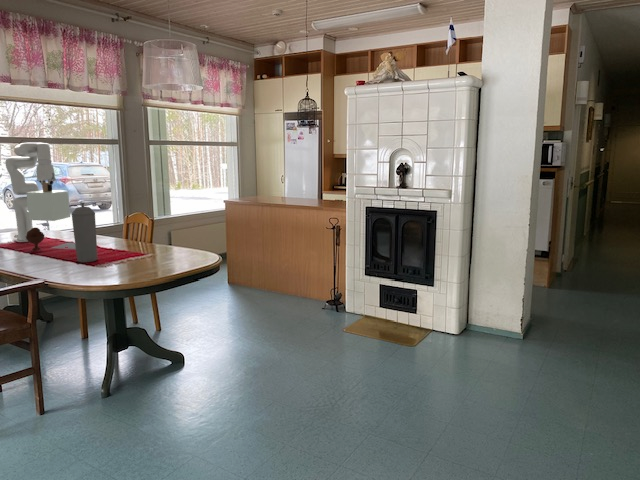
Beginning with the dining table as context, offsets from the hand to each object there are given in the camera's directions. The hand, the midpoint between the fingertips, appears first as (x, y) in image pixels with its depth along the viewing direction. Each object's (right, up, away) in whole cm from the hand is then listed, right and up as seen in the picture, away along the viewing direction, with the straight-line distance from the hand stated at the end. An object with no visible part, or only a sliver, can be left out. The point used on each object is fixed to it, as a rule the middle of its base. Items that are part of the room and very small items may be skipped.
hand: (47, 190), depth 316 cm
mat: (+9, -37, +14) cm, 40 cm away
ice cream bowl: (-8, -39, +2) cm, 40 cm away
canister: (+40, -45, -28) cm, 67 cm away
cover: (0, -18, +4) cm, 19 cm away
